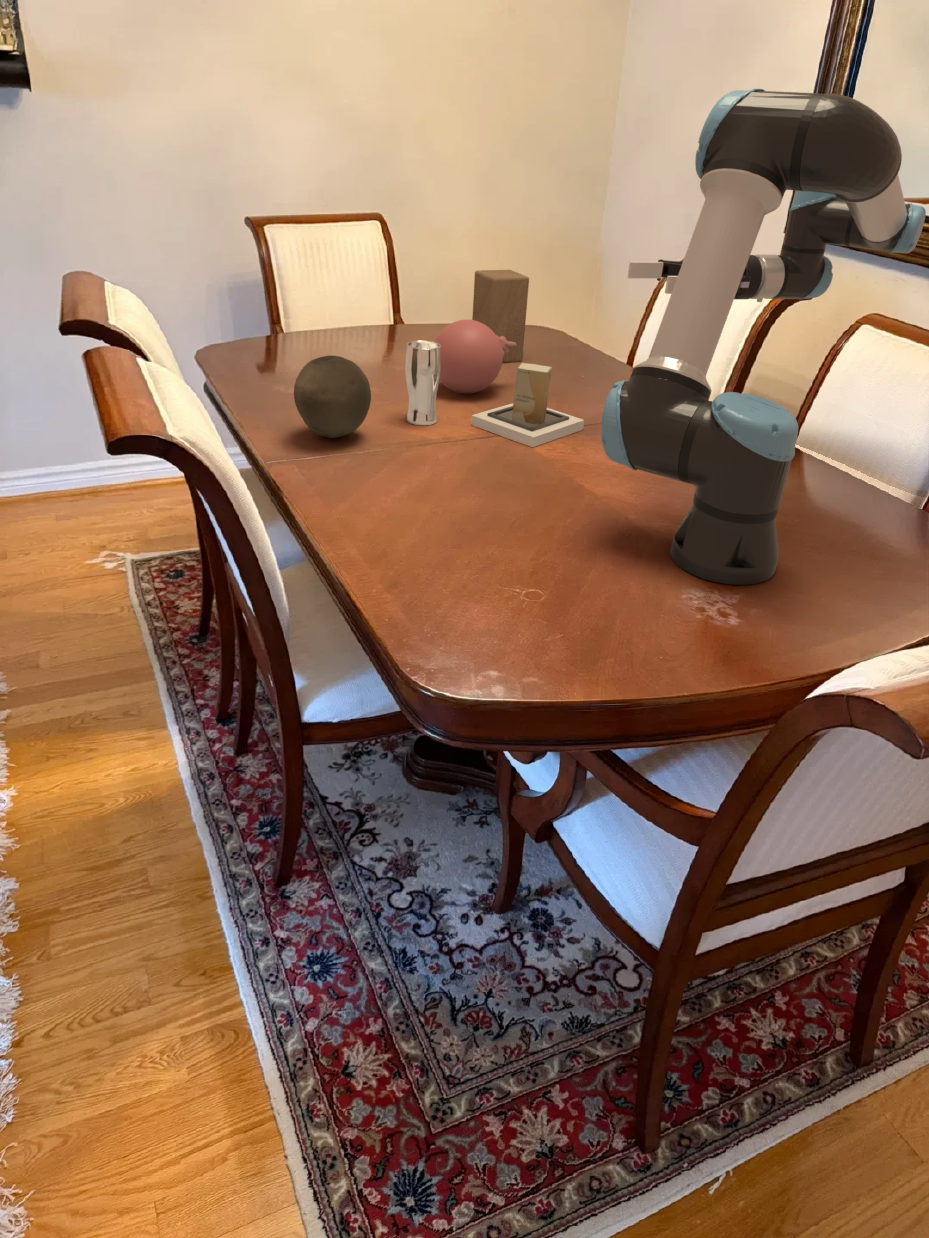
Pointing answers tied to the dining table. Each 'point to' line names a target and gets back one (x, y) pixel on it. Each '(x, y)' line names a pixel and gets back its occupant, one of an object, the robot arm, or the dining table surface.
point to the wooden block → (502, 306)
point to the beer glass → (422, 380)
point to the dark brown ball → (332, 396)
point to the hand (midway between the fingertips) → (647, 277)
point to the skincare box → (531, 394)
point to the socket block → (531, 436)
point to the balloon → (470, 356)
